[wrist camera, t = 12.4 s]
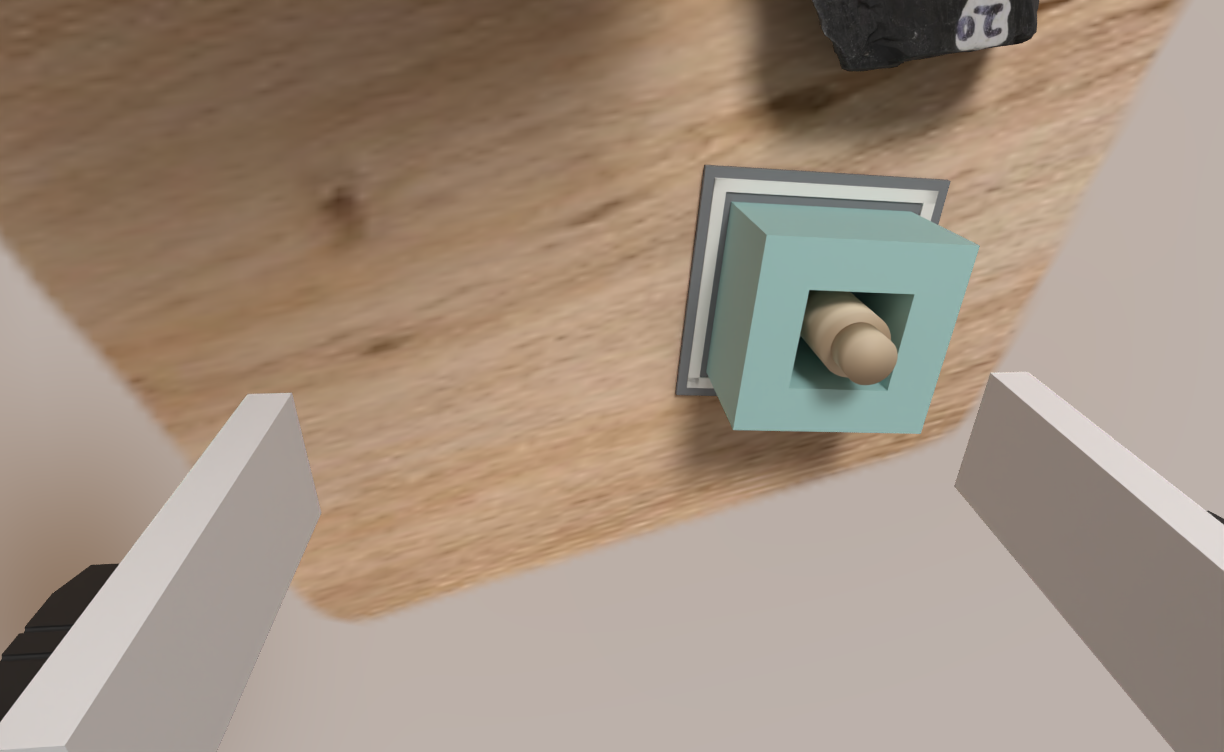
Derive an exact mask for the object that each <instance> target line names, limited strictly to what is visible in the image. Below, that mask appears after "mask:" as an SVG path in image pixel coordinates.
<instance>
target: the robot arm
mask: <svg viewBox="0 0 1224 752" xmlns="http://www.w3.org/2000/svg"><path fill="white" fill-rule="evenodd" d="M955 488H956V489H957V490H958V491H959V492H960V494H961V495H962V496H963V497H964V498H965V500H966V501H967V502H968V503H969V504H970V506H971V507H972V508H973V509H974V510H975V512H976V513H977V514H978V515H979V516H980V518H981V519H982V520H983V521H984V522H985V524H986V525H987V526H988V527H989V528H990V530H991V531H992V532H993V533H994V535H995V536H996V537H997V538H998V539H999V541H1000V542H1001V543H1002V544H1003V545H1004V547H1005V548H1006V549H1007V550H1008V551H1009V553H1010V554H1011V555H1012V556H1013V557H1014V558H1015V560H1016V561H1017V562H1018V563H1019V564H1020V566H1021V567H1022V568H1023V569H1024V571H1025V572H1026V573H1027V574H1028V575H1029V577H1030V578H1031V579H1032V580H1033V581H1034V583H1035V584H1036V585H1037V586H1038V587H1039V589H1040V590H1041V591H1042V592H1043V593H1044V595H1045V596H1046V597H1047V598H1048V599H1049V601H1050V602H1051V603H1052V604H1053V605H1054V607H1055V608H1056V609H1057V610H1058V611H1059V613H1060V614H1061V615H1062V616H1063V618H1064V619H1065V620H1066V621H1067V622H1068V624H1069V625H1070V626H1071V627H1072V628H1073V630H1074V631H1075V632H1076V633H1077V634H1078V636H1079V637H1080V638H1081V639H1082V640H1083V642H1084V643H1085V644H1086V645H1087V646H1088V648H1089V649H1090V650H1091V651H1092V652H1093V654H1094V655H1095V656H1096V657H1097V658H1098V660H1099V661H1100V662H1101V663H1102V664H1103V666H1104V667H1105V668H1106V669H1107V671H1108V672H1109V673H1110V674H1111V675H1112V677H1113V678H1114V679H1115V680H1116V681H1117V683H1118V684H1119V685H1120V686H1121V687H1122V689H1123V690H1124V691H1125V692H1126V693H1127V695H1128V696H1129V697H1130V698H1131V699H1132V700H1133V702H1134V703H1135V704H1136V705H1137V707H1138V708H1139V709H1140V710H1141V711H1142V713H1143V714H1144V715H1145V716H1146V717H1147V719H1148V720H1149V721H1150V722H1151V723H1152V725H1153V726H1154V727H1155V728H1156V729H1157V731H1158V732H1159V733H1160V734H1161V736H1162V737H1163V738H1164V739H1165V740H1166V742H1167V743H1168V744H1169V745H1170V746H1171V747H1172V749H1173V750H1174V751H1175V752H1224V519H1223V518H1221V517H1219V516H1217V515H1216V514H1214V513H1212V512H1210V511H1206V510H1204V509H1203V508H1202V507H1200V506H1199V505H1198V504H1197V503H1195V502H1194V501H1193V500H1191V499H1190V498H1189V497H1188V496H1186V495H1185V494H1184V493H1182V492H1181V491H1180V490H1179V489H1177V488H1176V487H1175V486H1174V485H1172V484H1171V483H1170V482H1168V481H1167V480H1166V479H1164V478H1163V477H1162V476H1161V475H1159V474H1158V473H1157V472H1156V471H1154V470H1153V469H1152V468H1150V467H1149V466H1148V465H1146V464H1145V463H1144V462H1143V461H1142V460H1140V459H1139V458H1138V457H1136V456H1135V455H1134V454H1133V453H1131V452H1130V451H1129V450H1127V449H1126V448H1125V447H1124V446H1122V445H1121V444H1120V443H1118V442H1117V441H1116V440H1115V439H1113V438H1112V437H1111V436H1110V435H1108V434H1107V433H1106V432H1104V431H1103V430H1102V429H1100V428H1099V427H1098V426H1097V425H1095V424H1094V423H1093V422H1092V421H1090V420H1089V419H1088V418H1086V417H1085V416H1084V415H1083V414H1081V413H1080V412H1079V411H1077V410H1076V409H1075V408H1074V407H1072V406H1071V405H1070V404H1069V403H1067V402H1066V401H1065V400H1063V399H1062V398H1061V397H1059V396H1058V395H1057V394H1055V393H1054V392H1053V391H1052V390H1051V389H1049V388H1048V387H1047V386H1046V385H1044V384H1043V383H1042V382H1040V381H1039V380H1038V379H1037V378H1035V377H1034V376H1033V375H1031V374H1030V373H1029V372H1000V373H990V376H989V379H988V382H987V385H986V388H985V391H984V395H983V398H982V401H981V404H980V407H979V410H978V413H977V416H976V420H975V423H974V426H973V429H972V432H971V435H970V439H969V442H968V445H967V448H966V451H965V454H964V457H963V461H962V463H961V467H960V470H959V473H958V476H957V479H956V482H955ZM320 515H321V509H320V505H319V501H318V497H317V493H316V489H315V485H314V481H313V477H312V473H311V469H310V465H309V460H308V456H307V452H306V448H305V444H304V440H303V436H302V432H301V428H300V424H299V420H298V416H297V411H296V407H295V403H294V399H293V395H292V393H268V394H247V395H246V397H245V398H244V399H243V401H242V402H241V403H240V405H239V406H238V407H237V409H236V410H235V411H234V413H233V414H232V415H231V417H230V418H229V419H228V421H227V422H226V423H225V425H224V426H223V427H222V429H221V430H220V431H219V433H218V434H217V435H216V437H215V438H214V439H213V441H212V442H211V443H210V445H209V446H208V447H207V449H206V450H205V451H204V453H203V454H202V455H201V456H200V458H199V459H198V460H197V462H196V463H195V464H194V466H193V467H192V468H191V470H190V471H189V472H188V474H187V475H186V476H185V478H184V479H183V480H182V482H181V483H180V484H179V486H178V487H177V488H176V490H175V491H174V492H173V494H172V495H171V497H170V498H169V499H168V500H167V502H166V503H165V504H164V506H163V507H162V508H161V510H160V511H159V512H158V514H157V515H156V516H155V518H154V519H153V520H152V522H151V523H150V524H149V525H148V527H147V528H146V529H145V531H144V532H143V533H142V535H141V536H140V538H139V539H138V540H137V541H136V543H135V544H134V545H133V547H132V548H131V549H130V551H129V552H128V554H127V555H126V556H125V557H124V559H123V560H122V561H121V563H120V564H102V565H90V566H89V567H88V568H86V569H85V570H84V571H82V572H81V573H80V574H79V575H77V576H76V577H74V578H73V579H72V580H70V581H69V582H68V583H66V584H65V585H63V586H62V587H61V588H59V589H58V590H57V591H55V592H54V593H53V594H52V595H51V596H50V597H49V598H48V599H47V601H46V602H45V603H44V604H43V606H42V607H41V608H40V609H39V610H38V612H37V613H36V614H35V615H34V617H33V618H32V619H31V620H30V621H29V622H28V624H27V625H26V626H25V632H24V633H21V634H18V636H17V637H16V638H15V639H14V641H13V642H12V643H11V644H10V645H9V647H8V648H7V649H6V650H5V651H4V653H3V654H2V660H1V661H0V752H217V750H218V747H219V745H220V743H221V741H222V738H223V736H224V734H225V732H226V729H227V727H228V725H229V722H230V720H231V718H232V716H233V713H234V711H235V709H236V707H237V704H238V702H239V700H240V697H241V695H242V693H243V690H244V688H245V686H246V684H247V681H248V679H249V677H250V675H251V672H252V670H253V668H254V665H255V663H256V661H257V659H258V656H259V654H260V652H261V649H262V647H263V645H264V643H265V640H266V638H267V636H268V633H269V631H270V629H271V626H272V624H273V622H274V620H275V617H276V615H277V613H278V610H279V608H280V606H281V604H282V601H283V599H284V597H285V595H286V592H287V590H288V588H289V585H290V583H291V581H292V579H293V576H294V574H295V572H296V569H297V567H298V565H299V563H300V560H301V558H302V556H303V553H304V551H305V549H306V547H307V544H308V542H309V540H310V537H311V535H312V533H313V531H314V528H315V526H316V524H317V521H318V519H319V517H320Z"/></svg>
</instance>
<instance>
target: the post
mask: <svg viewBox="0 0 1224 752" xmlns="http://www.w3.org/2000/svg"><path fill="white" fill-rule="evenodd" d="M800 336H801V337H802V338H803V339H804V340H805V342H806V343H807V344H808V345H809V346H810V348H811V349H812V350H813V351H814V353H815V354H816V355H817V356H818V357H819V359H820V360H821V361H822V362H823V363H824V365H825V366H826V367H827V368H828V369H829V370H830V371H831V372H832V373H834V374H836V375H838V376H841V377H847V378H849V379H850V380H851V381H852V382H854V383H856V384H859V385H872V384H875V383H878V382H880V381H882V380H883V379H885V378H886V377H887V376H888V375H889V374H890V373H891V372H892V371H893V369H894V367H895V365H896V363H897V358H898V354H897V349H896V347H895V345H894V344H893V343H892V342H891V334H890V330H889V328H888V326H887V324H886V323H885V322H884V321H883V320H882V319H881V318H880V317H878V316H877V315H876V314H875V313H874V312H873V311H872V310H870V309H869V308H868V307H867V306H866V305H865V304H863V303H862V302H861V301H860V300H859V299H858V298H857V297H855V296H854V295H853V294H852V293H851V292H847V291H823V290H809V294H808V299H807V304H806V308H805V313H804V318H803V323H802V328H801V332H800Z"/></svg>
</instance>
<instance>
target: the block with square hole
mask: <svg viewBox="0 0 1224 752" xmlns="http://www.w3.org/2000/svg"><path fill="white" fill-rule="evenodd" d="M979 247H980V246H979V245H977V244H975V243H973V242H971V241H969V240H967V239H965V238H963V237H961V236H959V235H957V234H955V233H953V232H951V231H949V230H947V229H945V228H943V227H941V226H939V225H937V224H935V223H933V222H931V221H929V220H927V219H925V218H923V217H921V216H919V215H917V214H915V213H913V212H910V211H892V210H874V209H856V208H838V207H819V206H801V205H783V204H765V203H747V202H731V206H730V213H729V220H728V227H727V234H726V240H725V247H724V254H723V261H722V268H721V275H720V281H719V288H718V295H717V302H716V309H715V315H714V322H713V329H712V336H711V343H710V349H709V356H708V363H707V370H706V372H707V374H708V377H709V379H710V381H711V383H712V385H713V388H714V390H715V392H716V394H717V396H718V398H719V401H720V403H721V405H722V407H723V409H724V411H725V414H726V416H727V418H728V420H729V422H730V424H731V427H732V429H733V430H759V431H810V432H861V433H912V434H921V431H922V428H923V424H924V421H925V418H926V415H927V412H928V409H929V405H930V402H931V399H932V396H933V393H934V389H935V386H936V383H937V380H938V377H939V374H940V370H941V367H942V364H943V361H944V358H945V355H946V351H947V348H948V345H949V342H950V339H951V336H952V332H953V329H954V326H955V323H956V320H957V316H958V313H959V310H960V307H961V304H962V301H963V297H964V294H965V291H966V288H967V285H968V282H969V278H970V275H971V272H972V269H973V266H974V262H975V259H976V256H977V253H978V250H979ZM809 290H823V291H847V292H851V293H852V294H853V295H854V296H855V297H857V298H858V299H859V300H860V301H861V302H862V303H863V304H865V305H866V306H867V307H868V308H869V309H870V310H872V311H873V312H874V313H875V314H876V315H877V316H878V317H880V318H881V319H882V320H883V321H884V322H885V323H886V324H887V326H888V328H889V330H890V334H891V342H892V343H893V344H894V345H895V347H896V349H897V354H898V358H897V363H896V365H895V367H894V369H893V371H892V372H891V373H890V374H889V375H888V376H887V377H886V378H885V379H883V380H882V381H880V382H878V383H875V384H872V385H859V384H856V383H854V382H852V381H851V380H850V379H849V378H847V377H841V376H838V375H836V374H834V373H832V372H831V371H830V370H829V369H828V368H827V367H826V366H825V365H824V363H823V362H822V361H821V360H820V359H819V357H818V356H817V355H816V354H815V353H814V351H813V350H812V349H811V348H810V346H809V345H808V344H807V343H806V342H805V340H804V339H803V338H802V337H800V332H801V328H802V323H803V318H804V313H805V308H806V304H807V299H808V294H809Z"/></svg>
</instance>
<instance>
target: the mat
mask: <svg viewBox="0 0 1224 752" xmlns="http://www.w3.org/2000/svg"><path fill="white" fill-rule="evenodd" d="M949 185H950V181H949V180H942V179H926V178H910V177H894V176H877V175H861V174H845V173H829V172H813V171H797V170H781V169H764V168H748V167H732V166H716V165H705V166H704V173H703V181H702V189H701V197H700V205H699V213H698V220H697V228H696V236H695V244H694V252H693V259H692V267H691V275H690V283H689V291H688V299H687V306H686V314H685V322H684V330H683V338H682V345H681V353H680V361H679V369H678V377H677V385H676V395H701V396H717V394H716V392H715V390H714V388H713V385H712V383H711V381H710V379H709V377H708V374H707V372H706V370H707V363H708V356H709V349H710V343H711V336H712V329H713V322H714V315H715V309H716V302H717V295H718V288H719V281H720V275H721V268H722V261H723V254H724V247H725V240H726V234H727V227H728V220H729V213H730V206H731V202H747V203H765V204H783V205H801V206H819V207H838V208H856V209H874V210H892V211H910V212H913V213H915V214H917V215H919V216H921V217H923V218H925V219H927V220H929V221H931V222H933V223H935V224H937V225H938V223H939V220H940V216H941V213H942V209H943V206H944V202H945V199H946V195H947V192H948V188H949ZM800 337H801V336H800Z"/></svg>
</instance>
